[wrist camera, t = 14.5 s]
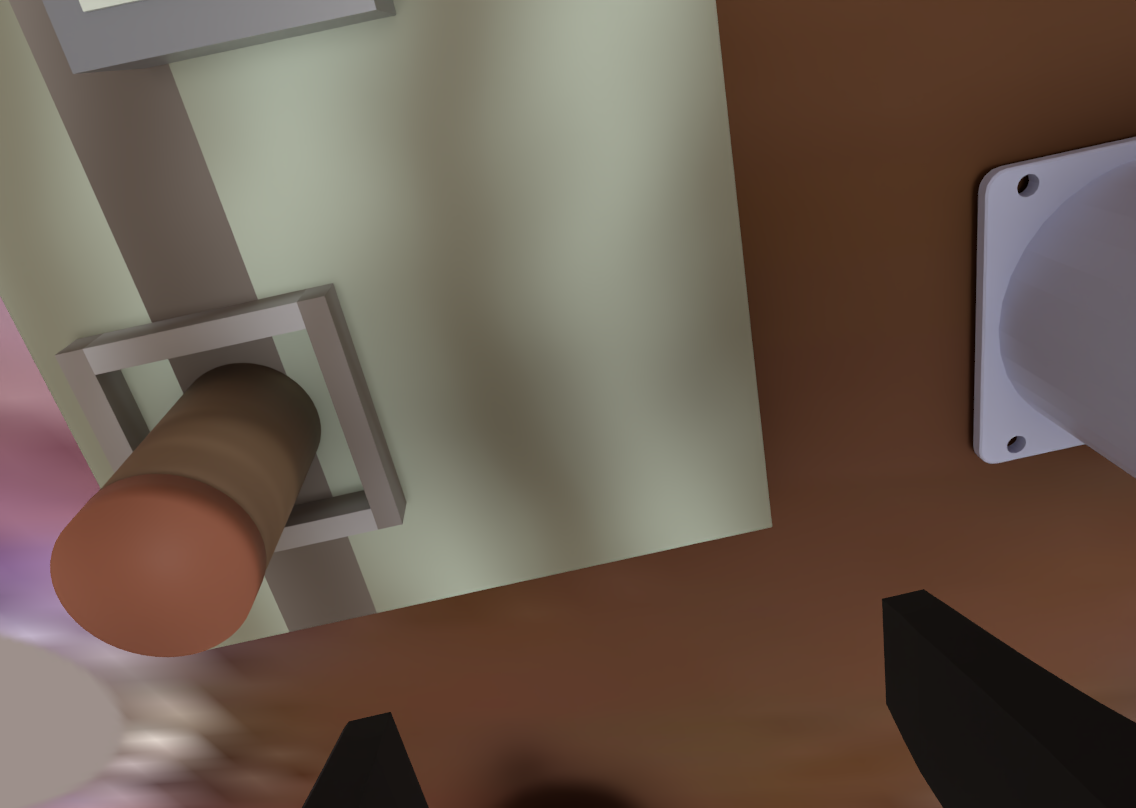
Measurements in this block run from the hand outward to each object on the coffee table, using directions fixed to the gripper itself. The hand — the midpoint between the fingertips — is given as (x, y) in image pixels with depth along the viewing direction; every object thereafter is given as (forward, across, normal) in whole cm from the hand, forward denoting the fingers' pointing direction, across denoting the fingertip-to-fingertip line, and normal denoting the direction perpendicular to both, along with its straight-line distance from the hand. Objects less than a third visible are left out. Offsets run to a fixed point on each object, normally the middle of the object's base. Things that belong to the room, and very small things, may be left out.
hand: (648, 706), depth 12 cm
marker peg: (+9, +8, -2) cm, 12 cm away
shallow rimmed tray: (+10, +3, -6) cm, 12 cm away
